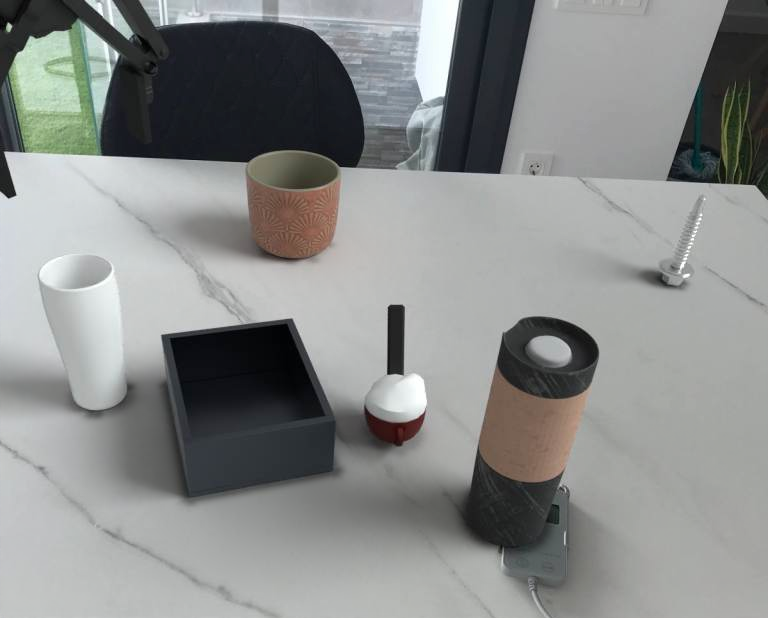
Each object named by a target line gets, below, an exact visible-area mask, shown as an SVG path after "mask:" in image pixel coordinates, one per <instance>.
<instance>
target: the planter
mask: <svg viewBox="0 0 768 618" xmlns="http://www.w3.org/2000/svg"><path fill="white" fill-rule="evenodd" d="M244 170H245V171H244V172H245V181H246V182H245V183H246V185H245V186H246V198H247V209H248V218H249V225H250V230H251V234H252V237H253V240H254V241H255V243H256V244H257V245H258V246H259V247H260V248H261V249H263V250H264V251H265V252H267V253H268V254H271V255H274V256H276V257H280V258H285V259H303V258H309V257H313V256H316V255H318V254H320V253H322V252H323V251H325V250H326V249H327V248H328V247H329V246H330V245H331V243H332V242H333V240H334V237H335V234H336V230H337V224H338V217H339V207H340V196H341V195H340V194H341V183H342V170H341V168H340V166H339V165H338V164H337V162H335V161H334V160H332V159H331V158H329V157H326V156H325V155H322V154H319V153H315V152H310V151H305V150H291V149H290V150H289V149H288V150H275V151H270V152H265V153H262V154H259V155H257V156H255V157H254V158H252V159H251V160H249V161H248V162H247V163H246V165H245V169H244Z"/></svg>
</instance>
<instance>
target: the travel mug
mask: <svg viewBox="0 0 768 618" xmlns="http://www.w3.org/2000/svg"><path fill="white" fill-rule="evenodd" d="M599 359H600V348H599V346H598V343H597V341H596V340H595V338H594V337H593V336H592V335H591V334H590V333H589V332H587V331H586V330H585V329H583V328H582V327H580V326H578V325H577V324H575V323H572V322H570V321H568V320H565V319H561V318H556V317H552V316H545V315H544V316H543V315H542V316H540V315H537V316H536V315H535V316H527V317H522V318H521V319H519V320H518V321H517V322H516V324H514V325H513V326H512V327H511V328H509V329H508V330H506V331H502V334H501V339H500V344H499V350H498V353H497V359H496V363H495V367H494V371H493V376H492V382H491V383H490V384H491V385H490V389H489V393H488V398H487V402H486V406H485V411H484V414H483V415H484V416H483V420H482V425H481V428H480V433H479V438H478V442H477V446H476V447H477V448H476V453H475V459H474V466H473V471H472V478H471V483H470V490H469V494H468V501H467V509H466V510H467V511H466V513H467V518H468V522H469V524H470V526H471V527H472V529H473V530H474V531H475V532H476V534H477V535H479V536H480V537H481V538H482V539H484V540H486V541H488V542H490V543H491V544H493V545H494V544H495V545H498V546H502V547H507V548H509V547H512V548H514V547H515V548H516V547H521V546H526V545H528V544H531V543H532V542H533V541H535V539H537V538H538V537H539V536H540V535H541V533H542V531H543V529H544V526H545V524H546V521H547V519H548V516H549V513H550V512H551V511H550V510H551V508H552V505H553V502H554V499H555V496H556V494H557V491H558V489H559V486H560V483H561V480H562V478H563V475H564V473H565V470H566V466H567V464H568V460H569V458H570V454H571V451H572V448H573V445H574V441H575V438H576V434H577V431H578V427H579V425H580V421H581V419H582V415H583V411H584V409H585V406H586V402H587V400H588V395H589V392H590V389H591V385H592V382H593V379H594V376H595V373H596V369H597V366H598V363H599Z"/></svg>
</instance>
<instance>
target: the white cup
mask: <svg viewBox="0 0 768 618" xmlns="http://www.w3.org/2000/svg"><path fill="white" fill-rule="evenodd" d="M37 281H38V287H39V291H40V298H41V302H42V306H43V310H44V313H45V317H46V320H47V323H48V326H49V329H50V331H51V334H52V338H53V340H54V343H55V346H56V348H57V351H58V353H59V357H60V360H61V363H62V365H63V368H64V372H65V374H66V378H67V380H68V383H69V387H70V391H71V395H72V399H73V401H74V402H75V403H76V404H77V405H78V406H79V407H80V408H83V409H86V410H89V411H103V410H107V409H112V408H114V407H115V406H117V405H118V404H120V403H121V402H122V401H123V400H124V399H125V397H126V395H127V393H128V384H127V378H126V368H125V353H124V337H123V336H124V335H123V333H124V332H123V318H122V317H123V315H122V303H121V296H120V292H119V285H118V284H119V283H118V280H117V276H116V271H115V267H114V264H113V263H112V262H111V261H110V260H109V259H107V258H106V257H104V256H101V255H98V254H94V253H85V252H84V253H83V252H81V253H79V252H77V253H69V254H64V255H60V256H57V257H55V258H53V259H50V260H49V261H47V262H45V263H44V264H43V265H42V266H41V267H40V268H39V270H38V272H37Z"/></svg>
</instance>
